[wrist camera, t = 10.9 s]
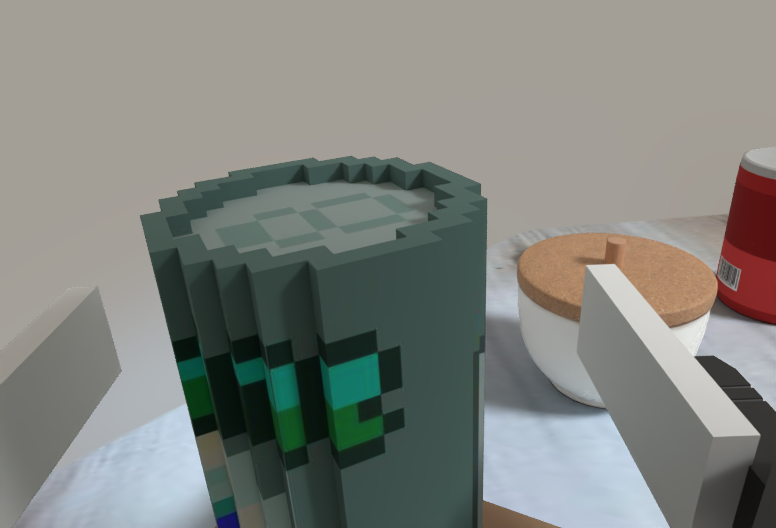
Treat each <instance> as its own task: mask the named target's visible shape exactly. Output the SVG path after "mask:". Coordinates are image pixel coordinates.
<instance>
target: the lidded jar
mask: <svg viewBox="0 0 776 528" xmlns="http://www.w3.org/2000/svg"><path fill="white" fill-rule="evenodd" d="M602 264H615V265H616V266H617V267H618V268H619V269H620V271H621V272H622V273H623V274H624V275H625V276H626V278H627V279H628V280H629V281H630V282H631V284H632V285H633V286H634V287H635V288H636V289H637V291H638V292H639V293H640V294H641V295H642V296H643V298H644V299H645V300H646V301H647V302H648V303H649V305H650V306H651V307H652V308H653V309H654V311H655V312H656V313H657V314H658V315H659V316H660V318H661V319H662V320H663V321H664V322H665V323H666V325H667V326H668V327H669V328H670V329H671V330H672V332H673V333H674V334H675V335H676V336H677V338H678V339H679V340H680V341H681V342H682V343H683V345H684V346H685V347H686V348H687V349H688V350H689V352H690V353H691V354H692V355H693V356H695V355H696V353H697V351H698V348H699V346H700V343H701V341H702V338H703V336H704V333H705V330H706V326H707V323H708V319H709V315H710V310H711V308H712V306H713V304H714V301H715V298H716V294H717V290H718V281H717V279H716V277H715V275H714V273H713V272H712V270H711V269H710V268H709V267H708V266H707V265H706V264H705V263H704V262H702V261H701V260H700V259H698V258H696V257H695V256H693V255H692V254H689V253H687V252H685V251H683V250H681V249H678V248H676V247H673V246H671V245H668V244H664V243H661V242H657V241H654V240H649V239H645V238H640V237H634V236H628V235H620V234H607V233H582V234H570V235H563V236H558V237H553V238H549V239H546V240H543V241H541V242H538V243H536V244H534V245H532V246H531V247H529V248H528V249H527V250H526V251H525V252H524V253H523V254H522V255H521V257H520V258H519V261H518V265H517V279H518V284H519V285H518V312H519V322H520V328H521V333H522V338H523V340H524V343H525V345H526V348H527V350H528V353H529V355H530V356H531V358H532V359H533V361H534V363H535V364H536V365H537V367H538V368H539V369H540V370H541V371H542V372H543V373H544V374H545V375H546V376H547V377H548V378H549V379H550V380H551V382H552V384H553V385H554V386H555V387H556V388H557V389H558V390H559V391H560V392H561V393H563V394H564V395H565V396H567V397H569V398H571V399H573V400H575V401H577V402H579V403H582V404H585V405H589V406H593V407H599V408H606V407H605V405H604V403H603V401H602V399H601V397H600V395H599V394H598V392H597V390H596V388H595V386H594V384H593V382H592V381H591V379H590V377H589V375H588V373H587V371H586V369H585V367H584V366H583V364H582V362H581V360H580V358H579V356H578V354H577V353H576V352H577V343H578V334H579V325H580V315H581V306H582V297H583V288H584V278H585V269H586V265H602Z"/></svg>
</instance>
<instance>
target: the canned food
mask: <svg viewBox="0 0 776 528" xmlns="http://www.w3.org/2000/svg"><path fill="white" fill-rule="evenodd" d="M716 279H717V281H718V290H717V295H718V297H719V299H720V300H721V301H722V302H723V303H724V304H726V305H727V306H728V307H730V308H731V309H733V310H735V311H737V312H738V313H741V314H743V315H745V316H748V317H750V318H753V319H756V320H759V321H763V322H767V323H771V324H776V147H768V148H759V149H754V150H751V151H748V152H746V153H744V155H743V157H742V160H741V162H740V166H739V171H738V175H737V178H736V183H735V188H734V193H733V198H732V203H731V207H730V212H729V217H728V222H727V227H726V231H725V236H724V241H723V246H722V251H721V256H720V260H719V265H718V270H717V275H716Z"/></svg>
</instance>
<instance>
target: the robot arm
mask: <svg viewBox="0 0 776 528" xmlns="http://www.w3.org/2000/svg"><path fill="white" fill-rule="evenodd" d="M576 353H577V354H578V356H579V358H580V360H581V362H582V364H583V366H584V367H585V369H586V371H587V373H588V375H589V377H590V379H591V381H592V382H593V384H594V386H595V388H596V390H597V392H598V394H599V395H600V397H601V399H602V401H603V403H604V405H605V407H606V409H607V410H608V412H609V414H610V416H611V418H612V420H613V422H614V424H615V425H616V427H617V429H618V431H619V433H620V435H621V437H622V438H623V440H624V442H625V444H626V446H627V448H628V450H629V452H630V453H631V455H632V457H633V459H634V461H635V463H636V465H637V467H638V468H639V470H640V472H641V474H642V476H643V478H644V480H645V481H646V483H647V485H648V487H649V489H650V491H651V493H652V495H653V496H654V498H655V500H656V502H657V504H658V506H659V508H660V509H661V511H662V513H663V515H664V517H665V519H666V521H667V523H668V524H669V526H670V528H776V412H775V410H774V409H773V408H772V407H771V406H770V405H769V404H768V403H767V402H766V401H763V398H762V397H761V395H760V394H759V393H758V392H757V391H756V390H755V389H754V388H751V386H750V384H749V383H748V382H747V381H746V379H745V378H744V377H743V376H742V375H741V374H740V373H739V372H738V371H737V370H736V369H735V368H733V367H732V366H730V365H728V364H727V363H725V362H723V361H722V360H720V359H718V358H716V357H715V356H693V355H692V354H691V353H690V352H689V350H688V349H687V348H686V347H685V346H684V345H683V343H682V342H681V341H680V340H679V339H678V338H677V336H676V335H675V334H674V333H673V332H672V330H671V329H670V328H669V327H668V326H667V325H666V323H665V322H664V321H663V320H662V319H661V318H660V316H659V315H658V314H657V313H656V312H655V311H654V309H653V308H652V307H651V306H650V305H649V303H648V302H647V301H646V300H645V299H644V298H643V296H642V295H641V294H640V293H639V292H638V291H637V289H636V288H635V287H634V286H633V285H632V284H631V282H630V281H629V280H628V279H627V278H626V276H625V275H624V274H623V273H622V272H621V271H620V269H619V268H618V267H617V266H616V265H615V264H602V265H586V269H585V278H584V288H583V297H582V306H581V315H580V325H579V334H578V343H577V352H576ZM121 371H122V370H121V367H120V363H119V360H118V357H117V353H116V349H115V346H114V342H113V339H112V335H111V331H110V328H109V324H108V321H107V317H106V314H105V310H104V307H103V303H102V300H101V296H100V293H99V289H98V286H83V287H69V288H68V289H67V290H66V291H65V292H64V293H62V294H61V295H60V296H59V297H58V298H57V299H56V300H55V301H54V302H53V303H52V304H51V305H50V306H49V307H47V308H46V309H45V310H44V311H43V312H42V313H41V314H40V315H39V316H38V317H37V318H36V319H35V320H33V321H32V322H31V323H30V324H29V325H28V326H27V327H26V328H25V329H24V330H23V331H22V332H21V333H19V334H18V336H17V337H15V338H14V339H13V340H12V341H11V342H10V343H9V344H8V345H7V346H6V347H5V348H3V349H2V350H1V351H0V528H13V526H14V525H15V523H16V522H17V520H18V519H19V518H20V516H21V515H22V513H23V512H24V510H25V509H26V507H27V506H28V505H29V503H30V502H31V500H32V499H33V497H34V496H35V495H36V493H37V492H38V490H39V489H40V487H41V486H42V485H43V483H44V482H45V480H46V479H47V477H48V476H49V474H50V473H51V472H52V470H53V469H54V467H55V466H56V464H57V463H58V461H59V460H60V459H61V457H62V456H63V454H64V453H65V451H66V450H67V449H68V447H69V446H70V444H71V443H72V441H73V440H74V438H75V437H76V436H77V434H78V433H79V431H80V430H81V429H82V427H83V426H84V424H85V423H86V421H87V420H88V418H89V417H90V416H91V414H92V412H93V411H94V409H95V408H96V407H97V405H98V404H99V403H100V401H101V400H102V398H103V397H104V395H105V394H106V393H107V391H108V390H109V388H110V387H111V385H112V384H113V383H114V381H115V380H116V378H117V377H118V375H119V374H120V373H121Z"/></svg>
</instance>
